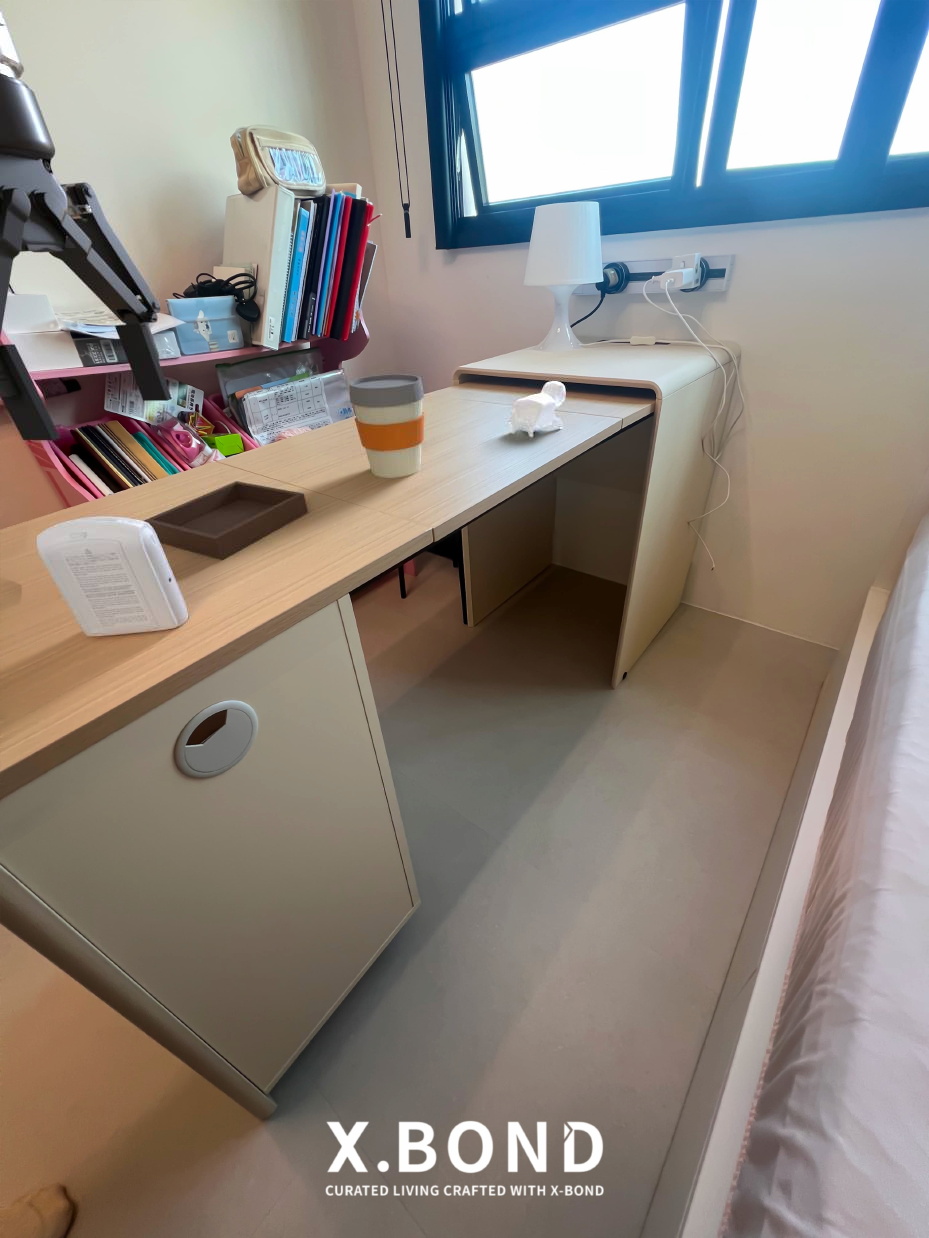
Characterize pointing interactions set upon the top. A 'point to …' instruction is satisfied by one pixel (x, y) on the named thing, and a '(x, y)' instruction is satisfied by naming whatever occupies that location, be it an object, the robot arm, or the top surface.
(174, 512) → the tray
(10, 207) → the robot arm
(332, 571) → the top surface
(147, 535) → the photo printer
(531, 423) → the white animal figurine
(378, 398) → the reusable coffee cup
